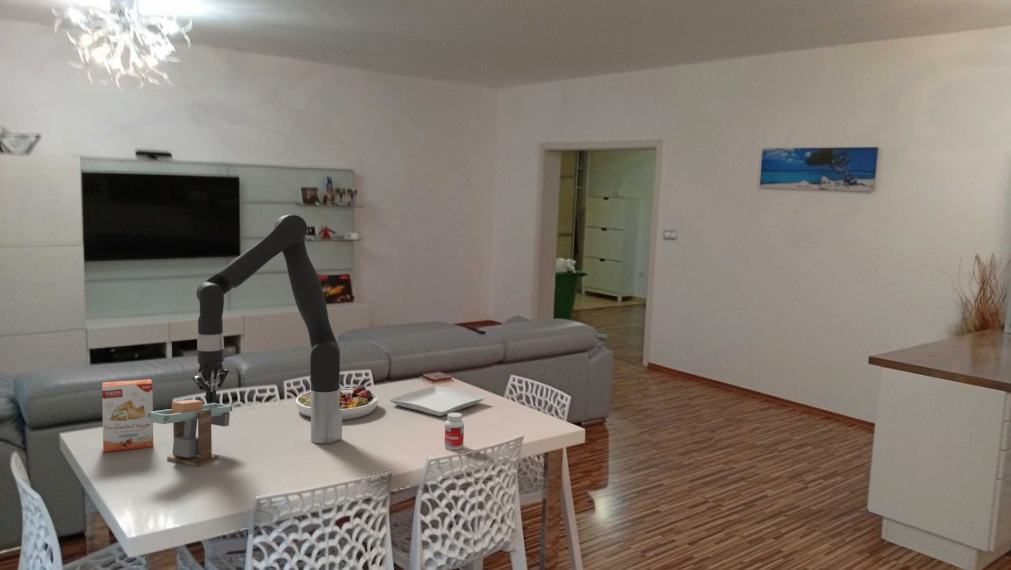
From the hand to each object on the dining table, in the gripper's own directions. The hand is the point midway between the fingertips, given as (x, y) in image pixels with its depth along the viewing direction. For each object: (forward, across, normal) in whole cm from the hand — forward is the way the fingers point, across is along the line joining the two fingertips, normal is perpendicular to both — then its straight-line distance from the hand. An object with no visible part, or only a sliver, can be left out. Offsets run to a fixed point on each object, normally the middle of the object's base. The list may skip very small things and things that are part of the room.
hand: (211, 402), depth 227 cm
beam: (+13, -10, 0) cm, 17 cm away
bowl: (+16, +55, -8) cm, 58 cm away
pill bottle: (+16, +38, -65) cm, 77 cm away
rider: (+1, -10, 0) cm, 10 cm away
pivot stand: (+16, -8, 0) cm, 17 cm away
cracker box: (+16, -9, +25) cm, 31 cm away
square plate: (+16, +79, -38) cm, 89 cm away
